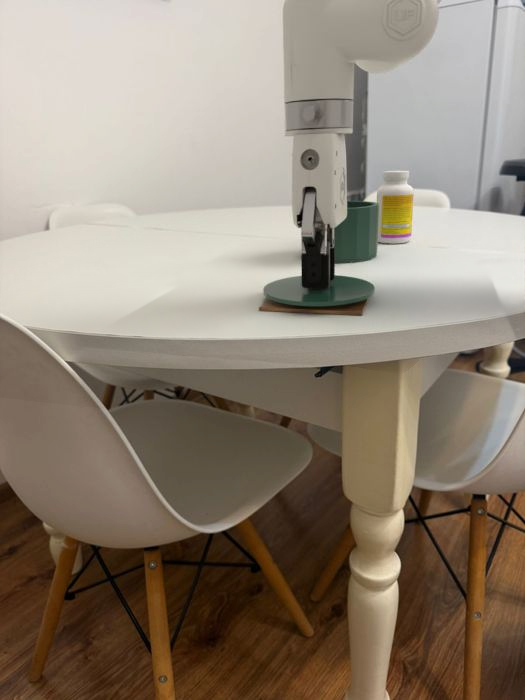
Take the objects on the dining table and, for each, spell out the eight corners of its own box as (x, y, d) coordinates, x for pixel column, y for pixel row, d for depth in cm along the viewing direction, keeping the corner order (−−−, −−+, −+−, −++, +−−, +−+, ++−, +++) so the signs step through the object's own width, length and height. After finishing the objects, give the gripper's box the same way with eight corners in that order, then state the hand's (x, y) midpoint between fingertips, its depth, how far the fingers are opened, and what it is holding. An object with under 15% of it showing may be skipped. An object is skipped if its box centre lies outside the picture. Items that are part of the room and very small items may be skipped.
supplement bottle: (417, 242, 101) (422, 170, 96) (385, 245, 99) (388, 172, 95) (400, 237, 107) (403, 169, 102) (369, 240, 105) (371, 171, 101)
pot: (381, 246, 98) (383, 198, 95) (370, 267, 82) (372, 210, 79) (313, 246, 102) (313, 199, 99) (290, 265, 86) (289, 211, 83)
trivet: (373, 288, 70) (373, 285, 70) (362, 315, 59) (362, 311, 59) (284, 285, 73) (284, 282, 73) (258, 310, 63) (258, 307, 63)
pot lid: (379, 284, 70) (381, 233, 68) (367, 314, 58) (369, 253, 56) (279, 281, 74) (278, 233, 72) (249, 308, 62) (246, 251, 60)
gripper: (340, 116, 51) (338, 303, 57) (361, 121, 66) (357, 270, 72) (265, 120, 53) (270, 300, 59) (301, 124, 68) (303, 268, 74)
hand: (318, 282), depth 66 cm, fingers open, 3 cm apart
